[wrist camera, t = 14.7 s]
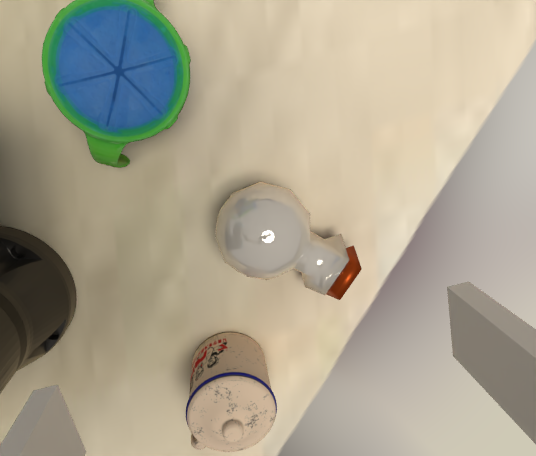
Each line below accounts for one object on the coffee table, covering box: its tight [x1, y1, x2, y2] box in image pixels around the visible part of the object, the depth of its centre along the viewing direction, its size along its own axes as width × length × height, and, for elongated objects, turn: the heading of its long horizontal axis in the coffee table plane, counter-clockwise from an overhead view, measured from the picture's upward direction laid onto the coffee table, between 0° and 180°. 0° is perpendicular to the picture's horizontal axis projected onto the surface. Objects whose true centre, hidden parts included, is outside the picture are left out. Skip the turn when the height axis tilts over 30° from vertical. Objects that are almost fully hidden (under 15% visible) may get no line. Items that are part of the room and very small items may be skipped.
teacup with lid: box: [186, 332, 277, 452], centre depth 46 cm, size 12×9×12 cm
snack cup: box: [42, 0, 191, 168], centre depth 37 cm, size 16×10×10 cm
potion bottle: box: [215, 181, 361, 300], centre depth 44 cm, size 9×10×15 cm
